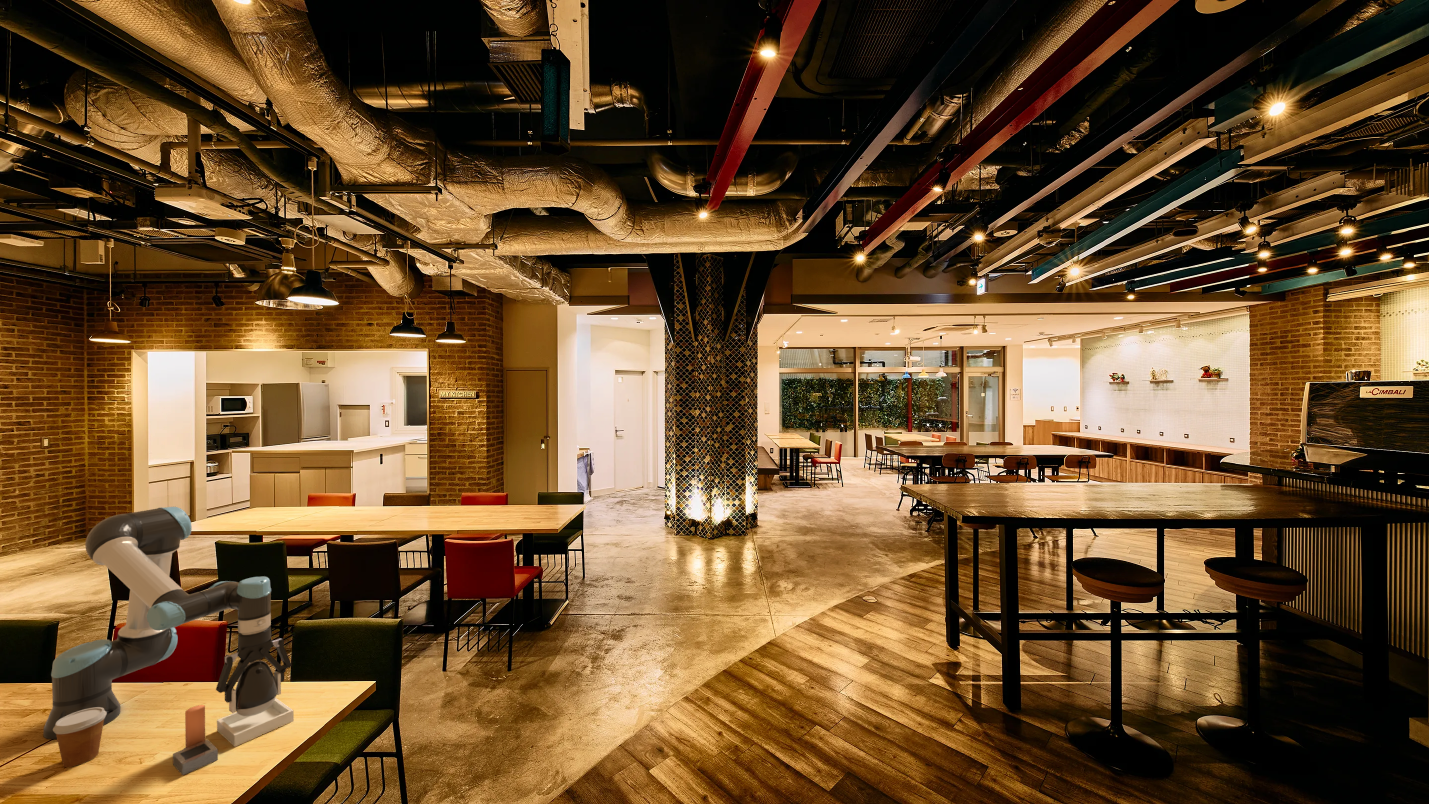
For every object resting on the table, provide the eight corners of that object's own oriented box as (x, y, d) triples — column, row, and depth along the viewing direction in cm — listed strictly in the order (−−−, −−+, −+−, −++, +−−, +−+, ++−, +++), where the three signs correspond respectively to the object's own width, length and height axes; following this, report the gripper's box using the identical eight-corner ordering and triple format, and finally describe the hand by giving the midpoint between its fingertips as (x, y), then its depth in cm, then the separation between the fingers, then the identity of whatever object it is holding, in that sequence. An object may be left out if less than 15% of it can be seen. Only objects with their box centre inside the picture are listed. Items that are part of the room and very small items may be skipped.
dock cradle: (217, 730, 157) (216, 719, 157) (274, 707, 169) (274, 696, 169) (234, 746, 150) (234, 735, 150) (293, 720, 162) (293, 710, 162)
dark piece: (240, 725, 153) (239, 673, 152) (227, 714, 158) (227, 664, 158) (283, 708, 161) (282, 659, 161) (270, 697, 167) (269, 650, 167)
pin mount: (173, 764, 143) (172, 753, 143) (207, 749, 149) (207, 739, 149) (182, 775, 139) (182, 764, 139) (217, 759, 145) (217, 749, 145)
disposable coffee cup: (69, 773, 139) (68, 729, 139) (43, 768, 141) (43, 724, 141) (116, 750, 149) (116, 708, 149) (91, 745, 151) (91, 704, 151)
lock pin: (183, 748, 149) (183, 710, 149) (202, 741, 152) (202, 703, 152) (188, 754, 146) (187, 714, 146) (207, 745, 150) (206, 707, 150)
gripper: (209, 648, 148) (210, 726, 148) (304, 618, 167) (305, 687, 167) (199, 641, 152) (201, 717, 152) (294, 613, 171) (295, 681, 171)
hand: (255, 702), depth 160 cm, fingers closed on dark piece, 10 cm apart
